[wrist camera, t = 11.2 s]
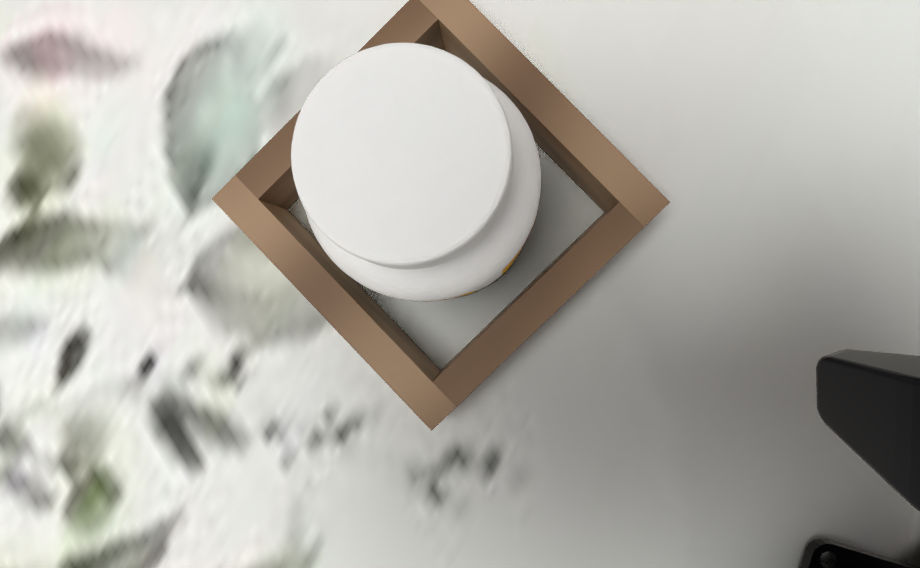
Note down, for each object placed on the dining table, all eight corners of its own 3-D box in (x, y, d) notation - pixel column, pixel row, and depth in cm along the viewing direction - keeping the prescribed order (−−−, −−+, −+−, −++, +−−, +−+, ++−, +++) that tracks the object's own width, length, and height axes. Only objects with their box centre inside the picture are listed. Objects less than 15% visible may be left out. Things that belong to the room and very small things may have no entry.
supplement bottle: (473, 104, 20) (448, -62, 11) (560, 241, 20) (614, 198, 11) (337, 191, 21) (193, 106, 11) (421, 327, 20) (350, 363, 11)
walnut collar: (648, 212, 20) (669, 202, 18) (439, 412, 20) (431, 430, 18) (446, 8, 20) (438, -30, 18) (246, 208, 21) (211, 198, 18)
